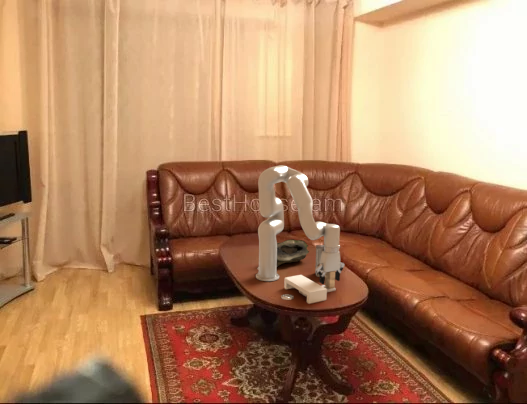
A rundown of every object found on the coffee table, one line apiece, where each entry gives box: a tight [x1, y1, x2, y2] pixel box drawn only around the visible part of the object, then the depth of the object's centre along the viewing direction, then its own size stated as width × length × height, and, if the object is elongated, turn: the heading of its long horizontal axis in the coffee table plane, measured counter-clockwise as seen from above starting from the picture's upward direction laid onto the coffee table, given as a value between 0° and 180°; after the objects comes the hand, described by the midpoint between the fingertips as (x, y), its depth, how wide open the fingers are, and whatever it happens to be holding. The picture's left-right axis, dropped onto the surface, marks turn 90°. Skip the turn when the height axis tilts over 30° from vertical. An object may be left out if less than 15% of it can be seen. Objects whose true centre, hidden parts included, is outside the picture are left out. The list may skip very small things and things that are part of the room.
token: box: [280, 293, 294, 301], centre depth 231 cm, size 6×6×1 cm
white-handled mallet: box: [298, 271, 337, 298], centre depth 238 cm, size 6×18×10 cm, turn 120°
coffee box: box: [314, 244, 326, 278], centre depth 261 cm, size 9×6×16 cm
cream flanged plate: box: [283, 274, 328, 305], centre depth 235 cm, size 22×10×6 cm, turn 30°
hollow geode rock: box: [277, 238, 310, 267], centre depth 282 cm, size 28×13×15 cm
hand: (329, 281), depth 242 cm, fingers open, 9 cm apart
